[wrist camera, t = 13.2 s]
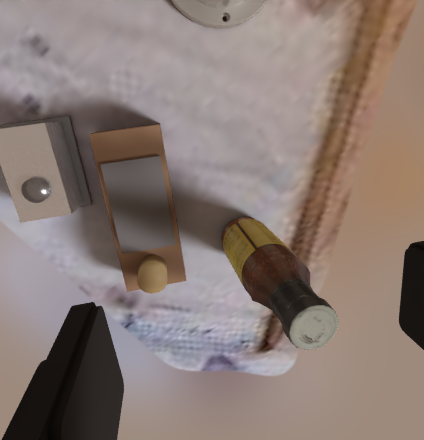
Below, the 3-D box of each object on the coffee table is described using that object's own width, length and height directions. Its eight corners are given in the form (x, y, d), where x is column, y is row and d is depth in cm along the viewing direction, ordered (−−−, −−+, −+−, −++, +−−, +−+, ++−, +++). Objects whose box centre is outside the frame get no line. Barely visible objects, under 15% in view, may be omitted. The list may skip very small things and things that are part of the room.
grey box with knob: (12, 128, 34) (-16, 130, 28) (60, 121, 34) (42, 123, 29) (39, 208, 37) (18, 224, 31) (83, 201, 37) (69, 215, 32)
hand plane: (97, 131, 35) (81, 136, 28) (159, 123, 36) (159, 125, 29) (130, 273, 41) (124, 306, 34) (183, 264, 42) (188, 294, 35)
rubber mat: (2, 124, 34) (0, 124, 33) (69, 116, 34) (68, 116, 34) (31, 213, 37) (29, 214, 37) (92, 203, 38) (91, 204, 37)
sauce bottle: (232, 265, 43) (285, 381, 25) (212, 228, 41) (253, 323, 22) (275, 243, 43) (360, 342, 24) (257, 204, 41) (335, 280, 22)
